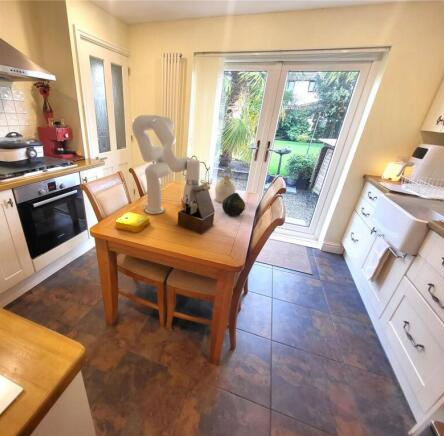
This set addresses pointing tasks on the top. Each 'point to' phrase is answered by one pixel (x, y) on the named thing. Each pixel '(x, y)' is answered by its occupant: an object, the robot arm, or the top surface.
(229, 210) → the squash
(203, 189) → the lid
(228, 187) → the cream vase
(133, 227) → the element tile
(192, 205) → the block
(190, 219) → the chest
